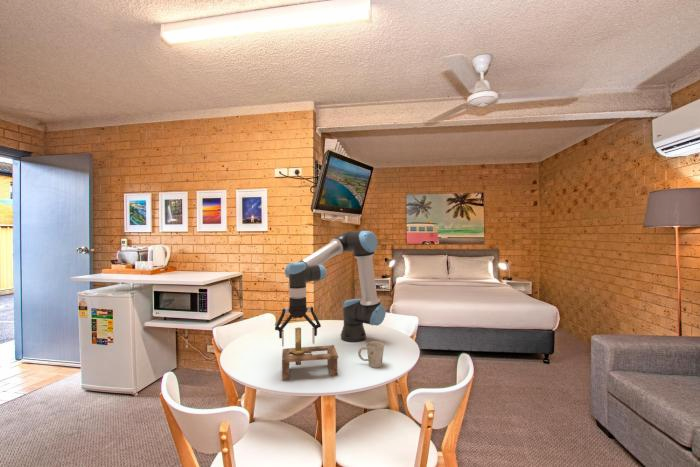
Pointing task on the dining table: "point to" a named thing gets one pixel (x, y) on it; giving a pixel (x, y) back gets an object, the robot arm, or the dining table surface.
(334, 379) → the dining table surface
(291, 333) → the dining table surface
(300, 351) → the pin
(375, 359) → the mug
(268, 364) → the dining table surface
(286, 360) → the keyhole shelf
